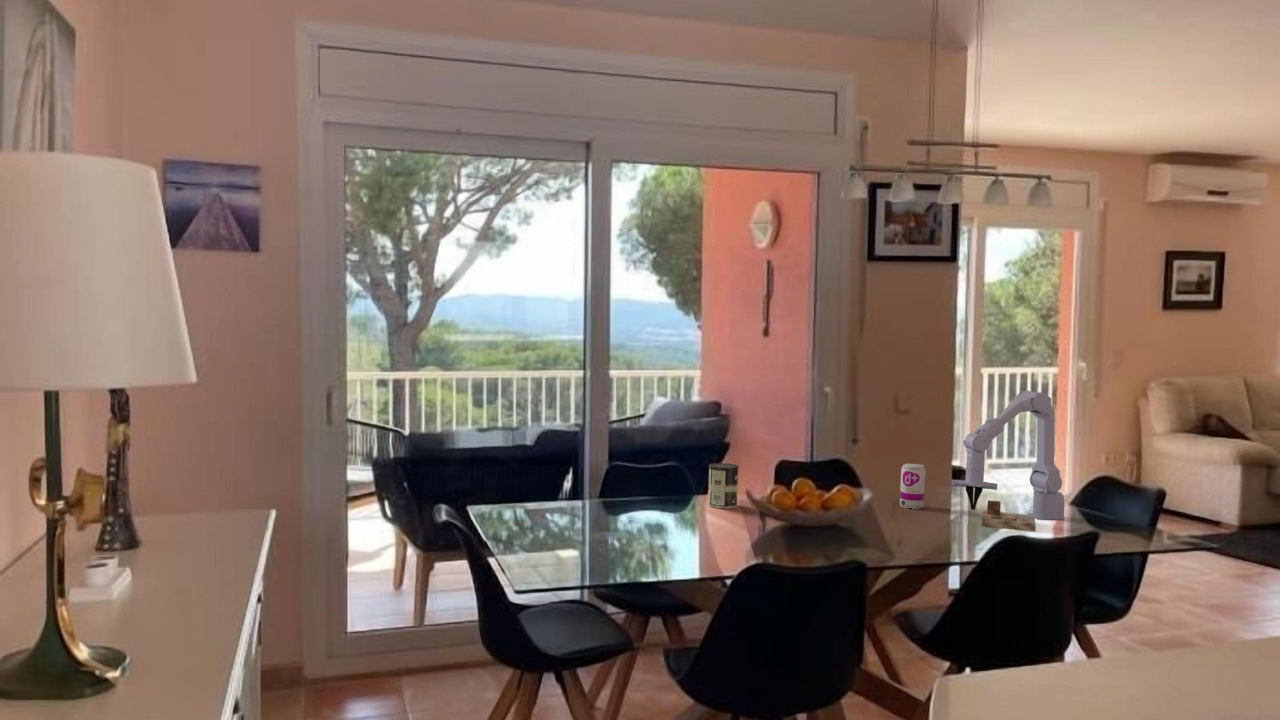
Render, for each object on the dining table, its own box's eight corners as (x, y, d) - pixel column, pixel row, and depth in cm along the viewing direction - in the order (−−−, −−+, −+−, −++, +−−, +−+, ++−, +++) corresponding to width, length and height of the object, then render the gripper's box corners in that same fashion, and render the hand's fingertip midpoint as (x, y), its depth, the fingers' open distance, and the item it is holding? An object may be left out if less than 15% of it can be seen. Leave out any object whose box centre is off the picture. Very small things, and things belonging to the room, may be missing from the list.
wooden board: (1033, 522, 318) (1034, 515, 318) (1035, 531, 305) (1035, 523, 305) (982, 517, 323) (983, 510, 323) (982, 526, 310) (982, 518, 310)
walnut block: (999, 513, 319) (1000, 501, 319) (999, 515, 316) (1000, 503, 315) (987, 512, 321) (987, 500, 321) (987, 514, 317) (987, 502, 317)
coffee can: (736, 503, 335) (737, 463, 334) (738, 509, 325) (740, 468, 324) (706, 502, 335) (708, 462, 334) (708, 508, 325) (709, 467, 324)
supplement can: (918, 510, 332) (920, 467, 331) (896, 507, 337) (897, 465, 336) (927, 507, 338) (929, 465, 338) (904, 503, 343) (906, 462, 342)
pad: (1033, 522, 318) (1034, 515, 318) (1034, 528, 310) (1035, 520, 310) (1017, 521, 320) (1018, 513, 319) (1018, 526, 312) (1018, 518, 312)
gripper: (951, 468, 319) (949, 509, 319) (998, 472, 313) (996, 513, 314) (952, 465, 325) (950, 505, 326) (998, 469, 320) (996, 509, 321)
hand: (973, 509), depth 320 cm, fingers closed
